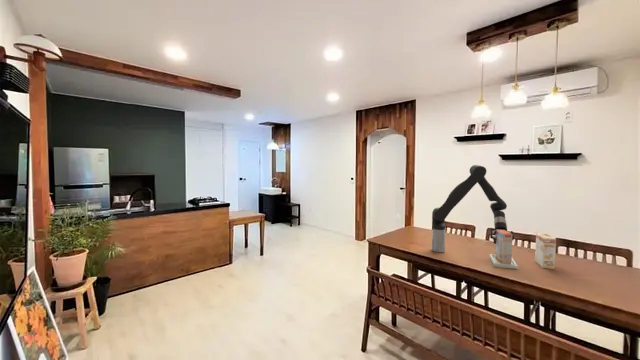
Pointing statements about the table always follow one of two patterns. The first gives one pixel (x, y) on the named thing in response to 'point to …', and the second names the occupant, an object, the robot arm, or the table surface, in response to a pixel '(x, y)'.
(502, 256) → the cracker box
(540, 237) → the coffeecake box
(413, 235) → the table surface
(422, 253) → the table surface
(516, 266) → the sage tray
